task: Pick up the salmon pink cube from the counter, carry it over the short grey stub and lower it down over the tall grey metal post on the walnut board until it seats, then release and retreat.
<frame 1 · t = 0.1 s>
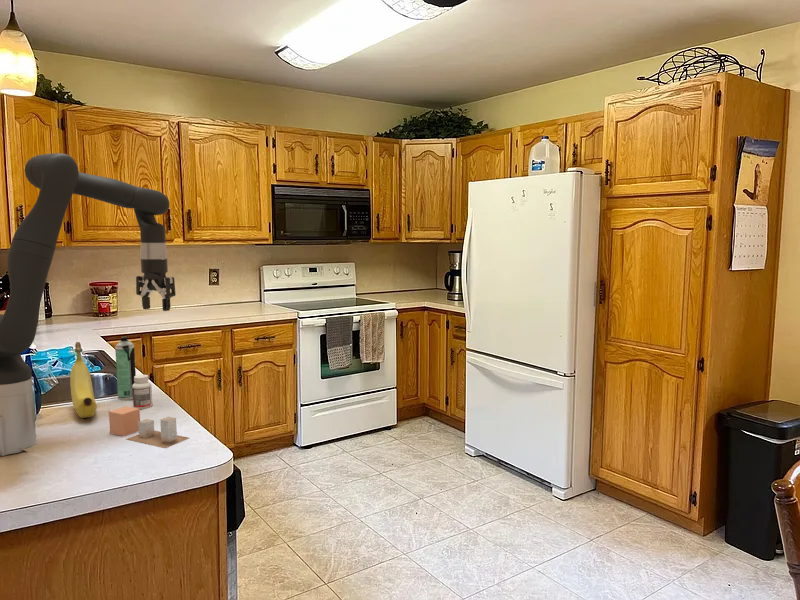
hand: (156, 309, 181), 29 cm above the counter, fingers open, 8 cm apart
banana: (85, 414, 172), on the counter
stub post: (146, 436, 150), resting on walnut board
salmon pink cube: (125, 434, 154), on the counter
walnut board: (158, 441, 149), on the counter
spray can: (127, 398, 188), on the counter
pill bottle: (143, 407, 178), on the counter
tall post: (169, 441, 147), resting on walnut board
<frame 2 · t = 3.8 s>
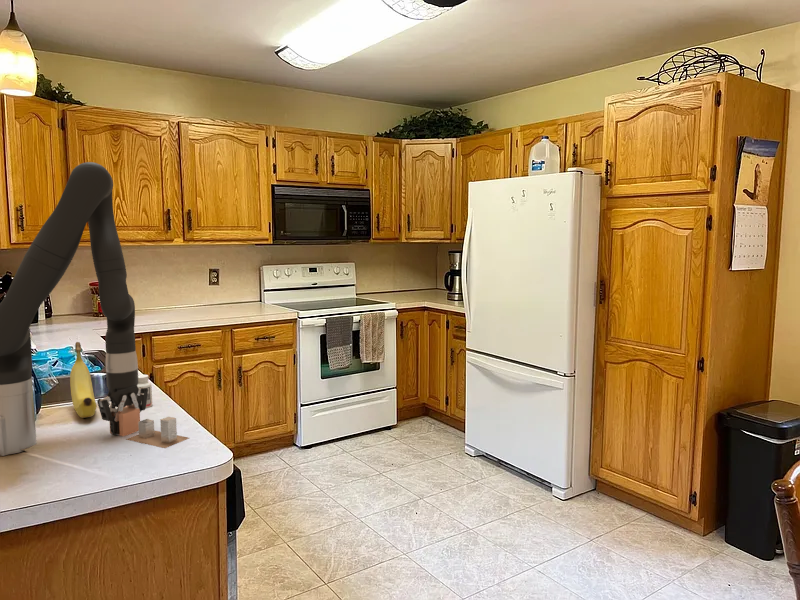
hand: (125, 430, 154), 1 cm above the counter, fingers closed on salmon pink cube, 5 cm apart
salmon pink cube: (125, 434, 154), on the counter, touching gripper
everything else where it was.
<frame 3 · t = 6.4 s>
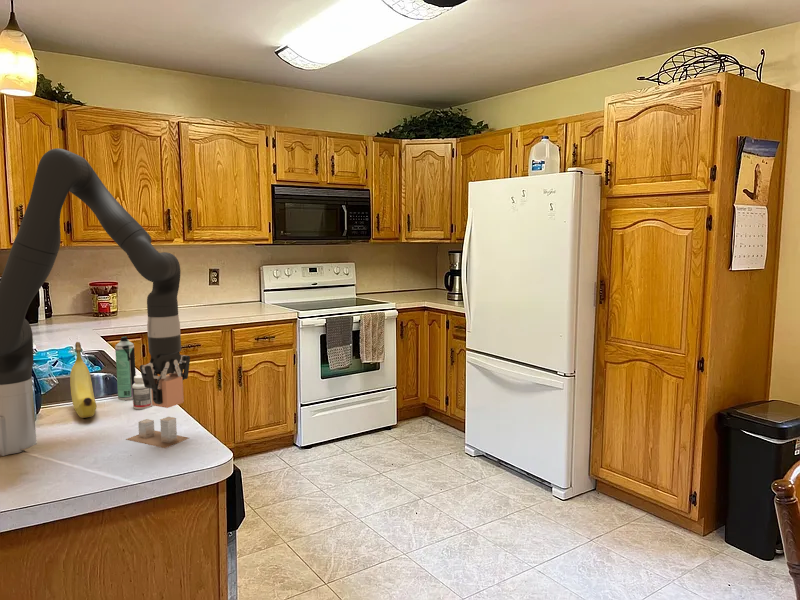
hand: (168, 400, 146), 11 cm above the counter, fingers closed on salmon pink cube, 5 cm apart
salmon pink cube: (168, 403, 146), point 10 cm above the counter, touching gripper
everything else where it was.
when the fingers open (2 cm above the counter, at t = 8.9 s): salmon pink cube stays where it is, resting on walnut board.
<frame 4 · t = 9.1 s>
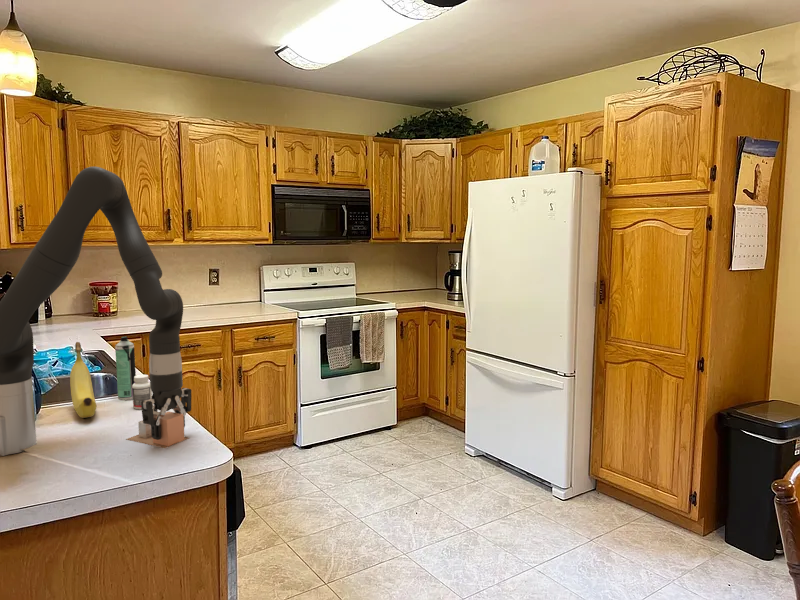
hand: (168, 434, 147), 3 cm above the counter, fingers open, 6 cm apart
salmon pink cube: (169, 441, 147), point 1 cm above the counter, touching walnut board
everything else where it was.
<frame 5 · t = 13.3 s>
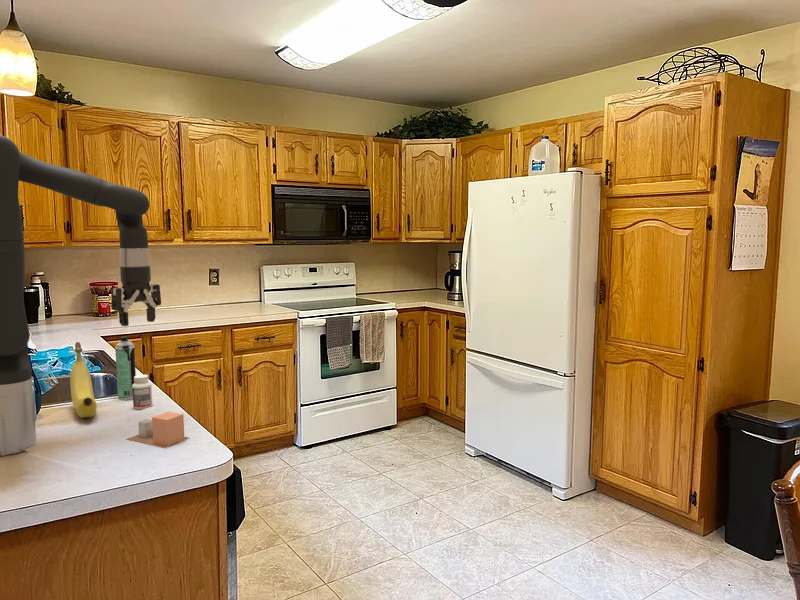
hand: (138, 323, 160), 28 cm above the counter, fingers open, 8 cm apart
nothing on the counter moved.
at the end: salmon pink cube 0.1 cm from the tall post (horizontally); salmon pink cube point 0.8 cm above the counter; the gripper is holding nothing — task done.
